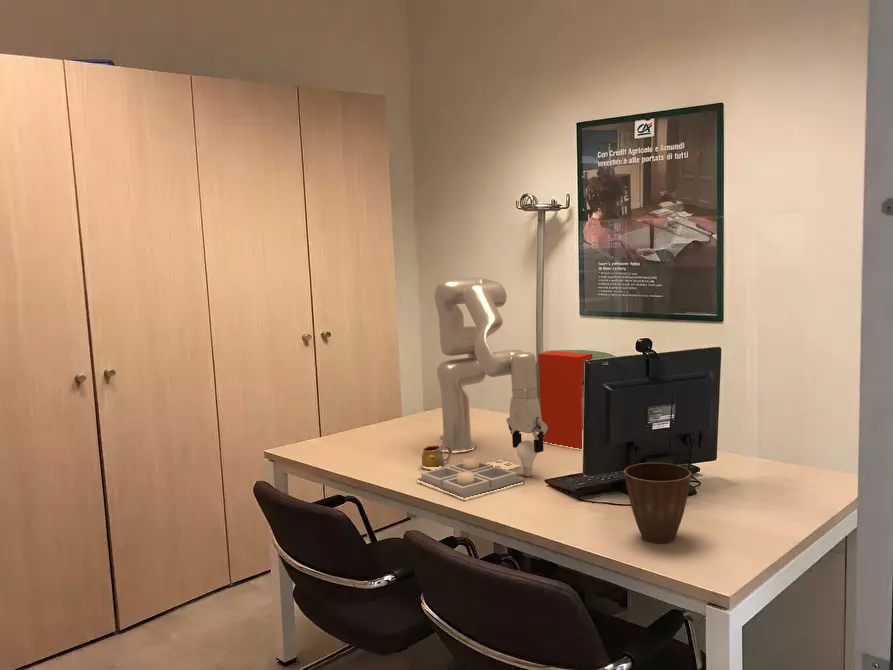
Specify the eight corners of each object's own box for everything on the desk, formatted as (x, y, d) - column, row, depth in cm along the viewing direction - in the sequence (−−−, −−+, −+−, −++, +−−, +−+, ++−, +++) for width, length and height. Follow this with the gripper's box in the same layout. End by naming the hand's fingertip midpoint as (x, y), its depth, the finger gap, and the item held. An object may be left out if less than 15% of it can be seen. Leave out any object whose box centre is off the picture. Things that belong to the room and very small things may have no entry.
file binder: (581, 451, 259) (578, 357, 255) (541, 443, 271) (538, 353, 268) (595, 446, 264) (592, 353, 260) (556, 438, 277) (552, 350, 273)
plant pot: (659, 521, 191) (658, 458, 189) (706, 540, 178) (705, 472, 176) (613, 534, 184) (611, 469, 182) (657, 555, 171) (655, 485, 169)
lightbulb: (522, 472, 238) (521, 437, 237) (541, 474, 235) (540, 439, 234) (514, 477, 233) (512, 442, 232) (533, 480, 230) (531, 444, 229)
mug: (431, 472, 244) (430, 452, 243) (417, 468, 249) (416, 448, 248) (459, 463, 252) (458, 444, 251) (445, 460, 257) (444, 440, 256)
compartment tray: (416, 482, 233) (415, 466, 233) (474, 467, 246) (473, 451, 245) (464, 501, 214) (463, 483, 213) (524, 483, 227) (523, 466, 226)
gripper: (496, 392, 236) (500, 447, 238) (535, 398, 222) (538, 456, 224) (515, 389, 240) (518, 442, 242) (554, 394, 226) (557, 451, 228)
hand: (528, 449), depth 233 cm, fingers open, 9 cm apart
